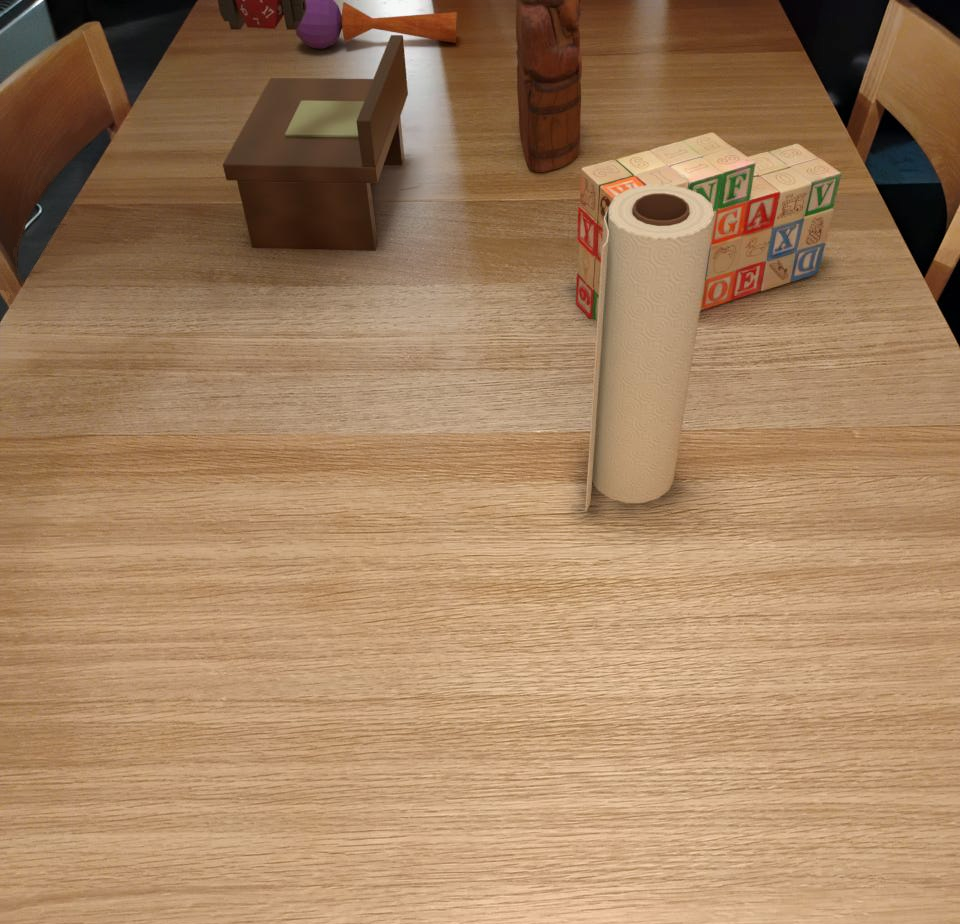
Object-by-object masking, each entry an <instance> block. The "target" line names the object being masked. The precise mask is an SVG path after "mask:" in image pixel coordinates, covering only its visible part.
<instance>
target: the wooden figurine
mask: <svg viewBox="0 0 960 924" xmlns="http://www.w3.org/2000/svg"><path fill="white" fill-rule="evenodd" d="M515 1H516V4H515V5H516V6H515V9H516V10H515V37H516V38H515V41H516V47H517V48H516V59H517V60H516V61H517V63H516V90H517V91H516V93H517V106H518V108H517V109H518V128H519V136H520V140H521V144H522V147H523V154H524V159H525V161H526V164H527V167H528V169H529V170H531V171H533V172H535V173H545V172H549V171H553V170H557V169H561V168H563V167H565V166H567V165H569V164H571V163H572V162H574V161H575V160H576V158H577V157H578V156H579V153H580V148H581V115H582V114H581V112H582V84H581V80H582V77H583V62H582V61H583V60H582V59H583V54H582V52H581V32H580V21H581V20H580V18H581V15H582V9H581V4H580V2H581V0H515Z"/></svg>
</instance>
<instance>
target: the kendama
mask: <svg viewBox="0 0 960 924" xmlns="http://www.w3.org/2000/svg"><path fill="white" fill-rule="evenodd" d="M305 1H306V7H307V8H306V13H305V16H304V17H303V19H302V21H301V23H300V24H299V26H298V28H297V30H294V31H295V33H296V36H297V37H298V39H300V41H302V43H303V44H305V45H306V46H308V47H311V48H312V49H322V50H325V49H327V48H329V47H331V46H333V45H334V44H335V43H336V42H337V40H338V39H340V35H341V33H342V37H343V42H344V43H346V42H348V41H350V40H352V39H354V38H356V37H358V36H361V35H363V34H365V33H367V32H369V31H371V30H379V31H384V32H390V33H394V34H395V33H396V34H400V35H407V36H412V37H417V38H424V39H430V40H435V41H440V42H446V43H450V44H451V43H452V44H457V32H458V31H457V30H458V29H457V27H458V12H457V11H452V12H438V13H437V12H436V13H423V14H412V15H399V16H398V15H397V16H385V17H371V16H369V14H366V13H365V12H363V11H361V10H359V9H357V8H356V7H354V6H352V5H350V4H348V3H347V2H345V1H343V2H342V9H341V10H340V7H339V5H338V4H337V3H336V1H335V0H305Z"/></svg>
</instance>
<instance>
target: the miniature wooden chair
mask: <svg viewBox="0 0 960 924" xmlns="http://www.w3.org/2000/svg"><path fill="white" fill-rule="evenodd" d="M404 43H405V42H404V34H391V35H390V36H389V38H388V42H387V44H386V47H385V49H384V51H383V54H382V57H381V59H380V61H379V64H378V66H377V69H376V71H375V74H374V76H373V78H322V77H321V78H316V77H315V78H312V77H311V78H310V77H309V78H308V77H306V78H305V77H303V78H302V77H270V78H269V79H268V81H267V83H266V85H265V87H264V89H263V90H262V92H261V94H260V96H259V98H258V100H257V101H256V103H255V104H254V107H253V109H252V111H251V112H250V114H249V116H248V118H247V120H246V121H245V123H244V124H243V127H242V129H241V130H240V132H239V134H238V136H237V138H236V139H235V142H234V143H233V145H232V147H231V149H230V151H229V153H228V154H227V156H226V157H225V158H224V159H225V160H224V162H223V163H222V168H223V172H224V176H225V180H226V181H235V182H236V183H237V187H238V191H239V195H240V199H241V205H242V209H243V213H244V218H245V222H246V225H247V231H248V235H249V239H250V243H251V248H265V249H266V248H269V249H270V248H271V249H278V248H279V249H305V250H306V249H308V250H309V249H310V250H345V251H348V250H349V251H376V248H377V245H378V233H377V226H376V219H375V211H374V202H373V195H372V186H371V184H378V182H379V180H380V176H381V174H382V171H383V168H384V166H403V164H404V161H405V150H404V149H405V148H404V138H403V130H402V129H403V128H402V119H401V116H402V113H403V110H404V107H405V104H406V101H407V99H408V96H409V90H408V80H407V79H408V77H407V65H406V55H405V45H404Z"/></svg>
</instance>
